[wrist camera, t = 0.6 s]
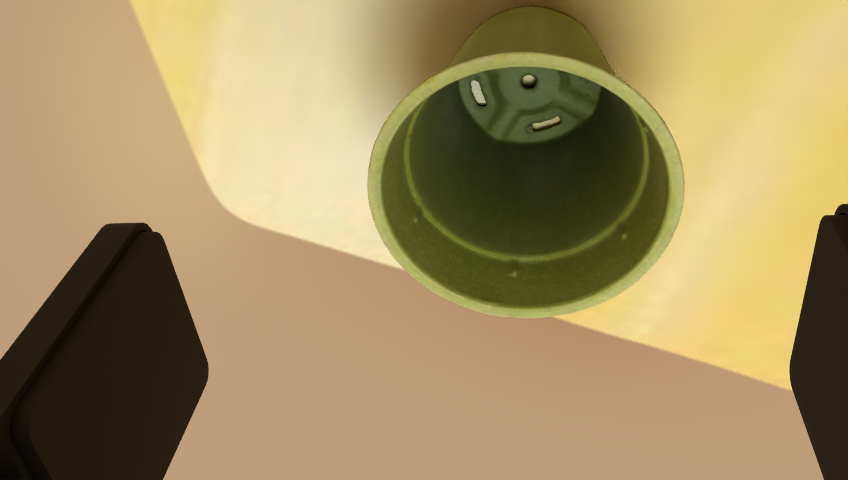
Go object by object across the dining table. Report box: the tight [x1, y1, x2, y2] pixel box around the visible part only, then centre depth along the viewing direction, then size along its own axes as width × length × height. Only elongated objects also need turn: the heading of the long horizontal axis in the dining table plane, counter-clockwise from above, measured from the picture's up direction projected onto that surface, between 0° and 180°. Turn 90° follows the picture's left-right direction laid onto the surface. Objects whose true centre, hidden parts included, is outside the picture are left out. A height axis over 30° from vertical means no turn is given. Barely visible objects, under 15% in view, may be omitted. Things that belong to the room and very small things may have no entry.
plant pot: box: [368, 7, 684, 318], centre depth 35 cm, size 12×12×11 cm
